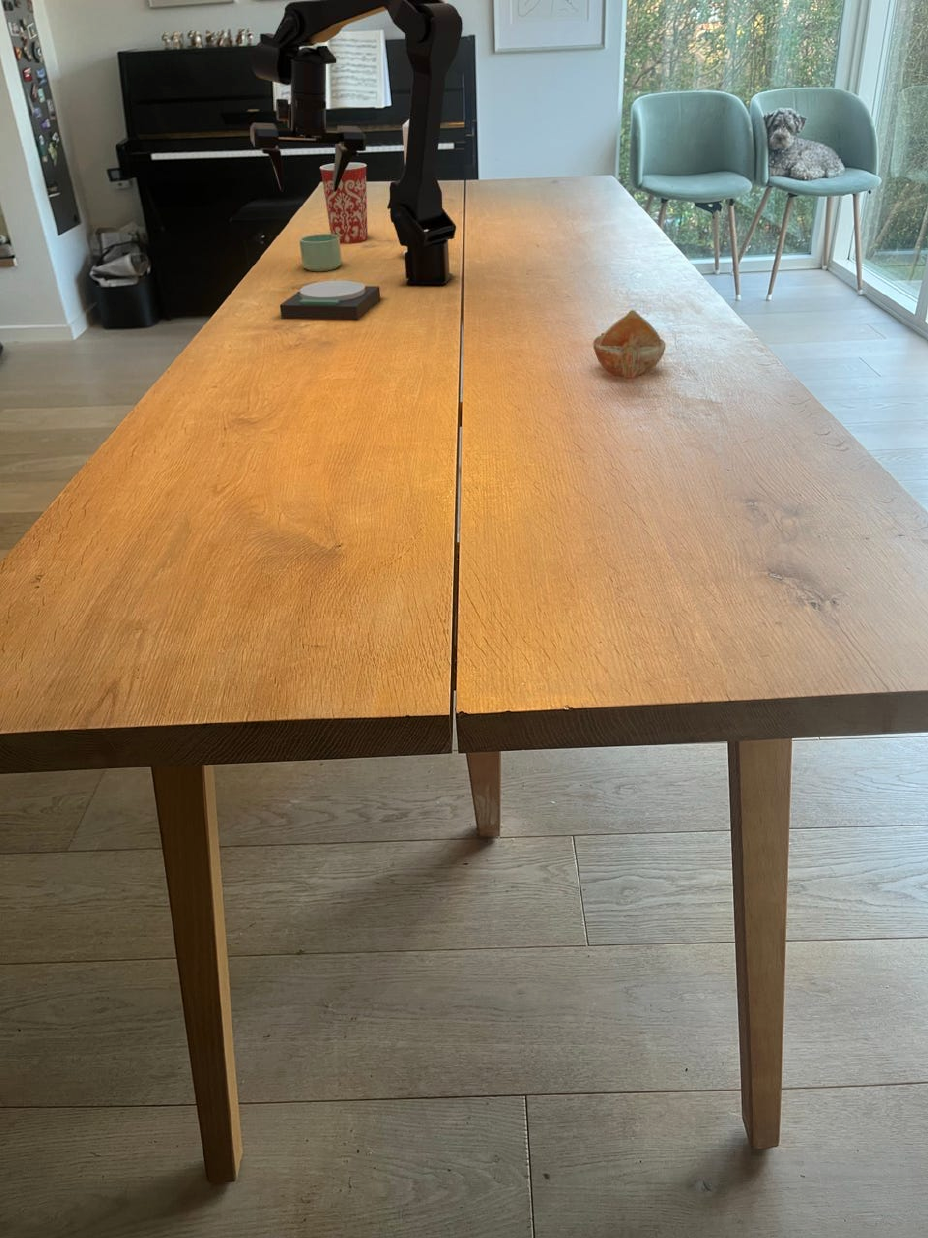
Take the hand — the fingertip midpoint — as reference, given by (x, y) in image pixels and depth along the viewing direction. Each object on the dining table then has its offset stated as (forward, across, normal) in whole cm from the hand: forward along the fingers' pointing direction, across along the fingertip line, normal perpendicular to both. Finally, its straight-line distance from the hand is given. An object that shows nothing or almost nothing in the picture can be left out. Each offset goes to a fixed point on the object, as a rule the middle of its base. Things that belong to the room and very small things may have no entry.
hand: (308, 190), depth 171 cm
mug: (+14, -12, -20) cm, 27 cm away
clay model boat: (0, -26, +77) cm, 81 cm away
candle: (+10, -21, +3) cm, 23 cm away
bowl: (+12, -2, +4) cm, 13 cm away
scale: (+8, +2, +32) cm, 34 cm away
